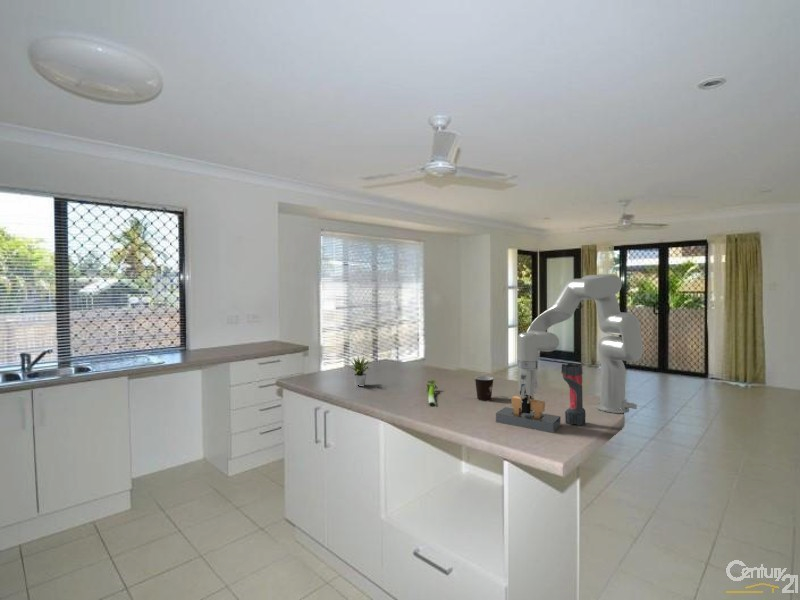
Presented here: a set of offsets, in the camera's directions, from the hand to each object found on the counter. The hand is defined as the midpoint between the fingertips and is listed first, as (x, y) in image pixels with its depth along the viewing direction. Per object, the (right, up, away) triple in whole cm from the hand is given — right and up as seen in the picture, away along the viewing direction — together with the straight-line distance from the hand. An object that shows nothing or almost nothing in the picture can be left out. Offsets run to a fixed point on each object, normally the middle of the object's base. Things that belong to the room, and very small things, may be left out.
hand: (527, 411), depth 162 cm
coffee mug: (-8, -4, +37) cm, 38 cm away
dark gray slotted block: (0, -5, 0) cm, 5 cm away
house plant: (-71, -3, +63) cm, 95 cm away
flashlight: (+17, -5, 0) cm, 18 cm away
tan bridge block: (0, -3, 0) cm, 3 cm away
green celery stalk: (-34, -4, +40) cm, 52 cm away
